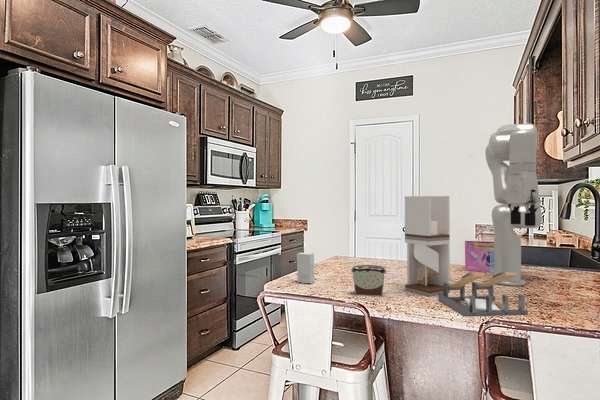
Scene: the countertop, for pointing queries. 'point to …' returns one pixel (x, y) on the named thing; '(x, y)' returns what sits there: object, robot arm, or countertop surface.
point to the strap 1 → (465, 281)
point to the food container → (368, 279)
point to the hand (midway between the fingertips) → (522, 224)
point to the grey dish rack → (465, 310)
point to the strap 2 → (495, 280)
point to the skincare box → (305, 267)
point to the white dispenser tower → (427, 244)
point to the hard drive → (480, 304)
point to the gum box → (479, 256)
